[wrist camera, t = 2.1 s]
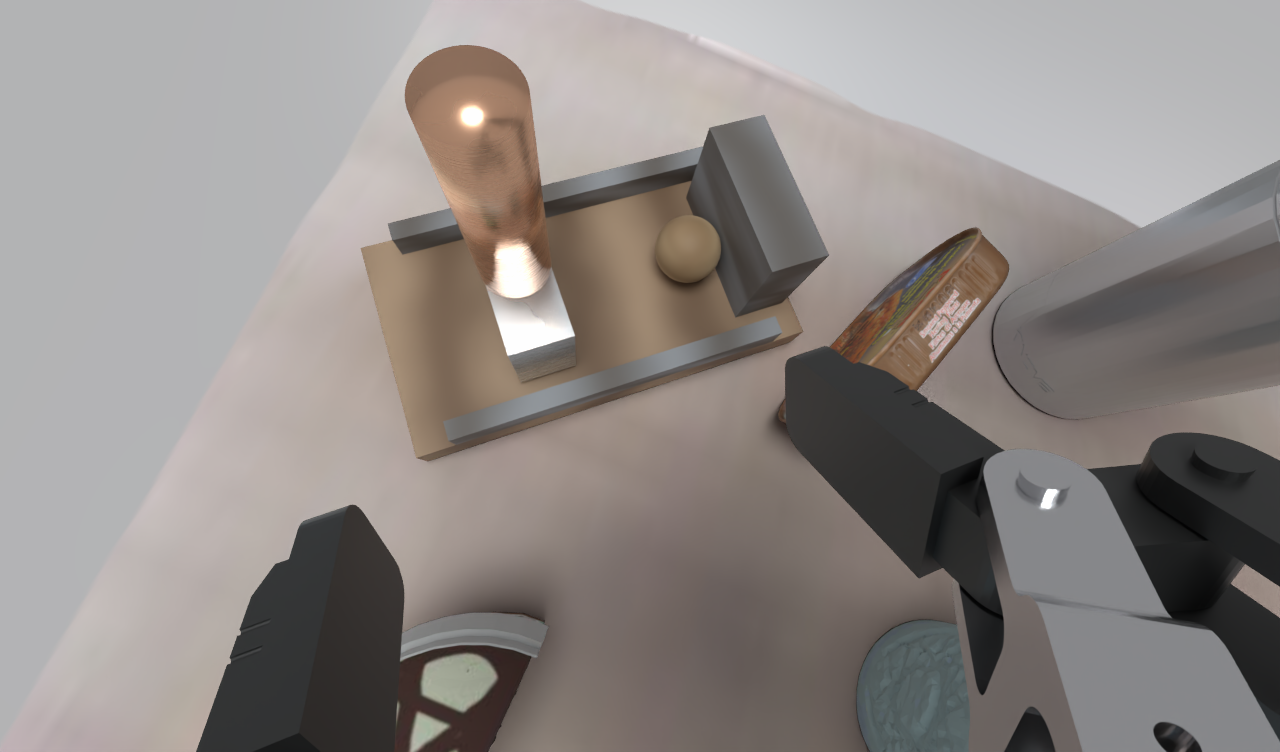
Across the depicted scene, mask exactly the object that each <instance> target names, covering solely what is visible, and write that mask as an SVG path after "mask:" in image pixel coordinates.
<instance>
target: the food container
mask: <svg viewBox="0 0 1280 752" xmlns="http://www.w3.org/2000/svg"><path fill="white" fill-rule="evenodd" d="M544 623H545V621H544V620H541V619H538V618H535V617H533V616H530V615H527V614H524V613H508V612H491V613H466V614H459V615H452V616H446V617H442V618H439V619H436V620H433V621H430V622H426V623H423V624H420V625H417V626H415V627H413V628H411V629H409V630H407V631H405V632H403V633H402V641H401V656H400V671H399V686H398V702H397V717H396V732H395V747H394V752H488V751H489V749H490V747H491V744H492V743H493V742H494V741H495V738H496V734H497V732H498V729H499V728H500V727H501V723H502V721H503V719H504V716H505V714H506V712H507V710H508V708H509V706H510V703H511V701H512V699H513V697H514V695H515V694H516V690H517V688H518V686H519V684H520V682H521V679H522V677H523V675H524V673H525V671H526V668H527V666H528V664H529V661H530V659H531V657H535V658H537V656H538V653H539V650H540V648H541V645H542V643H543V641H544V638H545V635H546V632H547V630H548V627H549V626H547V625H544Z"/></svg>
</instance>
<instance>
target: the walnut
mask: <svg viewBox="0 0 1280 752" xmlns="http://www.w3.org/2000/svg"><path fill="white" fill-rule="evenodd" d="M655 255H656V260H657V262H658V265H659V267H660V268H661V270H662V271H663V272H664V273H665V274H666V275H667V276H668V277H670V278H671V279H673V280H675V281H678V282H683V283H692V282H697V281H699V280H702V279H704V278H705V277H707V276H708V275H709V274H710V273H711V272H712V271H713V270H714V269H715V267H716V266H717V264H718V261H719V259H720V255H721V242H720V238H719V235H718V233H717V231H716V229H715V228H714V227H713V226H712V225H711V224H710V223H709V222H708V221H707V220H705V219H703V218H701V217H698V216H694V215H684V216H680V217H677V218H674V219H672V220H671V221H669V222H668V223H667V224H666V225H665V226H664V227H663V228H662V229H661V231H660V233H659V235H658V237H657V240H656V244H655Z"/></svg>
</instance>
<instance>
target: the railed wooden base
mask: <svg viewBox="0 0 1280 752" xmlns="http://www.w3.org/2000/svg"><path fill="white" fill-rule="evenodd" d="M542 194H543V202H544V210H545V218H546V226H547V234H548V242H549V250H550V258H551V268H552V270H553V273H554V276H555V279H556V282H557V285H558V288H559V291H560V294H561V297H562V300H563V302H564V305H565V308H566V311H567V314H568V317H569V320H570V323H571V326H572V329H573V332H574V335H575V350H576V366H573V367H569V368H566V369H563V370H560V371H557V372H553V373H550V374H547V375H544V376H541V377H537V378H534V379H531V380H528V381H525V382H520V380H519V378H518V376H517V374H516V371H515V369H514V367H513V365H512V363H511V361H510V359H509V357H508V355H507V352H506V348H505V345H504V342H503V339H502V336H501V332H500V329H499V326H498V323H497V320H496V317H495V313H494V310H493V307H492V304H491V301H490V297H489V294H488V291H487V288H486V285H485V283H484V282H483V280H482V278H481V276H480V274H479V272H478V269H477V267H476V265H475V263H474V260H473V258H472V256H471V253H470V251H469V249H468V247H467V244H466V242H465V240H464V238H463V235H462V233H461V231H460V228H459V226H458V224H457V222H456V219H455V217H454V215H453V213H452V210H451V208H450V209H446V210H442V211H437V212H433V213H429V214H425V215H421V216H417V217H413V218H409V219H405V220H401V221H397V222H392V223H388V226H389V230H390V234H391V237H392V240H391V241H387V242H383V243H379V244H375V245H371V246H367V247H363V248H361V251H362V255H363V259H364V262H365V266H366V270H367V274H368V277H369V281H370V285H371V289H372V293H373V296H374V300H375V304H376V308H377V311H378V315H379V319H380V323H381V326H382V330H383V334H384V338H385V342H386V345H387V349H388V353H389V357H390V360H391V364H392V368H393V372H394V375H395V379H396V383H397V387H398V391H399V394H400V398H401V402H402V406H403V409H404V413H405V417H406V421H407V424H408V428H409V432H410V436H411V440H412V443H413V447H414V451H415V455H416V458H418V459H422V460H425V461H430V460H433V459H436V458H439V457H442V456H445V455H448V454H451V453H454V452H457V451H461V450H464V449H467V448H470V447H473V446H476V445H479V444H482V443H485V442H488V441H491V440H494V439H497V438H500V437H503V436H506V435H509V434H512V433H515V432H518V431H521V430H524V429H527V428H530V427H533V426H536V425H540V424H543V423H546V422H549V421H552V420H555V419H558V418H561V417H564V416H567V415H570V414H573V413H576V412H579V411H582V410H585V409H588V408H591V407H594V406H597V405H600V404H603V403H606V402H609V401H612V400H615V399H618V398H622V397H625V396H628V395H631V394H634V393H637V392H640V391H643V390H646V389H649V388H652V387H655V386H658V385H661V384H664V383H667V382H670V381H673V380H676V379H679V378H682V377H685V376H688V375H691V374H694V373H697V372H701V371H704V370H707V369H710V368H713V367H716V366H719V365H722V364H725V363H728V362H731V361H734V360H737V359H740V358H743V357H746V356H749V355H752V354H755V353H758V352H761V351H764V350H767V349H770V348H773V347H776V346H779V345H783V344H786V343H789V342H791V341H792V340H793V339H794V338H796V337H797V336H798V335H799V334H801V333H802V332H803V330H802V328H801V326H800V323H799V321H798V319H797V317H796V314H795V312H794V310H793V307H792V305H791V303H790V301H789V298H788V296H789V295H790V294H791V293H792V292H793V291H794V290H795V289H796V288H797V287H798V286H799V285H800V284H801V283H802V282H803V281H804V280H805V279H806V278H807V277H808V276H809V275H810V274H811V273H812V272H813V271H814V270H815V269H816V268H817V267H818V266H819V265H820V264H821V263H822V262H823V261H824V260H825V259H826V258H827V257H828V256H829V254H828V252H827V250H826V247H825V245H824V243H823V241H822V239H821V237H820V234H819V232H818V230H817V228H816V226H815V224H814V221H813V219H812V217H811V215H810V213H809V211H808V208H807V206H806V204H805V202H804V200H803V198H802V195H801V193H800V191H799V189H798V187H797V185H796V182H795V180H794V178H793V176H792V174H791V172H790V169H789V167H788V165H787V163H786V161H785V159H784V156H783V154H782V152H781V150H780V148H779V146H778V143H777V141H776V139H775V137H774V135H773V133H772V131H771V128H770V126H769V124H768V122H767V120H766V118H765V115H762V116H757V117H753V118H749V119H745V120H741V121H736V122H732V123H728V124H724V125H720V126H715V127H711V128H709V131H708V134H707V137H706V140H705V143H704V146H703V147H699V148H695V149H691V150H687V151H683V152H679V153H675V154H671V155H666V156H662V157H658V158H654V159H650V160H646V161H642V162H638V163H634V164H630V165H626V166H621V167H617V168H613V169H609V170H605V171H601V172H597V173H593V174H589V175H585V176H581V177H576V178H572V179H568V180H564V181H560V182H556V183H552V184H548V185H544V186H542ZM684 215H694V216H698V217H701V218H703V219H705V220H707V221H708V222H709V223H710V224H711V225H712V226H713V227H714V228H715V229H716V231H717V233H718V235H719V238H720V242H721V255H720V259H719V261H718V264H717V266H716V267H715V269H714V270H713V271H712V272H711V273H710V274H709V275H708V276H707V277H705V278H704V279H702V280H699V281H697V282H692V283H683V282H678V281H675V280H673V279H671V278H670V277H668V276H667V275H666V274H665V273H664V272H663V271H662V270H661V268H660V267H659V265H658V262H657V260H656V255H655V244H656V240H657V237H658V235H659V233H660V231H661V229H662V228H663V227H664V226H665V225H666V224H667V223H668V222H669V221H671V220H672V219H674V218H677V217H680V216H684Z"/></svg>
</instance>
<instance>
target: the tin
mask: <svg viewBox="0 0 1280 752" xmlns="http://www.w3.org/2000/svg"><path fill="white" fill-rule="evenodd" d="M1008 272H1009V264H1008V262H1007V260H1006V259H1005V257H1004V256H1003V255H1002V254H1001V253H1000V252H999V251H998V250H997V249H996V248H995V247H994V246H993V245H992V244H991V243H990V242H989V241H988V240H987V239H986V238H985V237H984V236H983V235H982V232H981V230H980V229H979V228H977V227H975V228H971V229H967V230H965V231H962V232H961V233H959V234H957V235H955V236H953V237H952V238H950V239H948V240H946V241H945V242H944V243H942V244H940V245H939V246H938V247H936V248H935V249H933V250H932V251H931V252H929V253H928V254H926V255H925V256H924V257H922V258H921V259H920V260H919V261H917V262H916V263H915V264H913V265H912V266H911V267H909V268H908V269H907V270H906V271H904V272H903V273H902V274H900V275H899V276H898V277H897V278H896V279H894V280H893V281H892V282H891V283H890V284H889V285H888V286H887V287H886V288H885V289H884V290H882V291H881V292H880V293H879V294H878V295H877V296H876V297H875V299H874V300H872V301H871V302H870V304H869V305H868V306H867V307H866V308H865V309H864V310H863V311H862V312H861V313H860V314H859V316H858V317H857V318H856V319H855V320H854V321H853V322H852V323H851V324H850V325H849V327H848V328H847V329H846V330H845V331H844V332H843V333H842V334H841V335H840V336H839V338H838V339H837V340H836V341H835V342H834V343H833V344H832V345H831V346H830V348H832V349H834V350H835V351H836V352H838V353H839V354H841V355H842V356H843V357H845V358H846V359H848V360H849V361H850V362H852V363H853V364H854V363H857V362H861V363H864V364H867V365H870V366H872V367H875V368H878V369H881V370H884V371H887V372H889V373H890V374H892V375H893V376H895V377H896V378H898V379H899V380H900V381H902V382H903V383H905V384H906V385H908V386H909V389H910V390H913V389H914V390H915V391H917V390H918V389H919V387H920V386H921V385H922V384H923V383H924V381H925V380H926V379H927V378H928V377H929V375H930V374H931V373H932V372H933V371H934V370H935V368H936V367H937V366H938V365H939V363H940V362H941V361H942V360H943V359H944V357H945V356H946V355H947V354H948V352H949V351H950V350H951V349H952V348H953V346H954V345H955V344H956V343H957V342H958V340H959V339H960V338H961V336H962V335H963V334H964V333H965V332H966V330H967V329H968V328H969V327H970V325H971V324H972V323H973V322H974V320H975V319H976V318H977V317H978V315H979V314H980V313H981V312H982V311H983V309H984V308H985V306H986V305H987V304H988V303H989V302H990V300H991V299H992V298H993V297H994V295H995V294H996V293H997V292H998V290H999V289H1000V288H1001V286H1002V285H1003V283H1004V281H1005V280H1006V278H1007V275H1008ZM778 417H779V419H780V420H781V421H782V422H784V423H786V399H785V400H784V401H783V403H782V405H781V407H780V409H779V413H778Z"/></svg>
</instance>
